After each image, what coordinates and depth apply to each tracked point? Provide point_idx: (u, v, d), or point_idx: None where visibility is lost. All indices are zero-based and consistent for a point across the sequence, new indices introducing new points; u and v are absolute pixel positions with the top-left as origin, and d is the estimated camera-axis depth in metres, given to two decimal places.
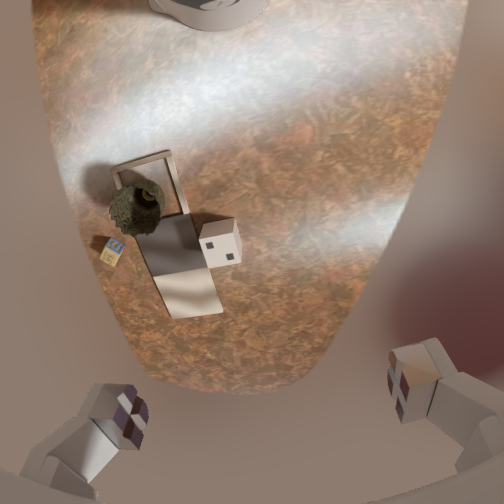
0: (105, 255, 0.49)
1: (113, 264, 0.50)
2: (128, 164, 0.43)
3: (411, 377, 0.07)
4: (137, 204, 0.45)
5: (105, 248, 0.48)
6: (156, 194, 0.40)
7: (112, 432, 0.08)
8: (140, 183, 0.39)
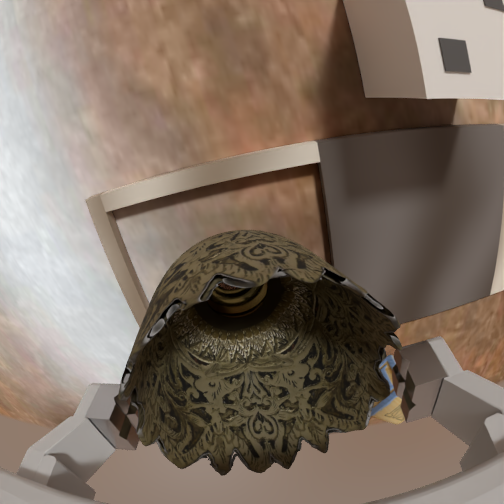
0: (396, 414, 0.16)
1: None
2: (141, 323, 0.15)
3: (417, 375, 0.07)
4: (266, 325, 0.13)
5: (377, 415, 0.16)
6: (179, 286, 0.07)
7: (109, 432, 0.08)
8: None
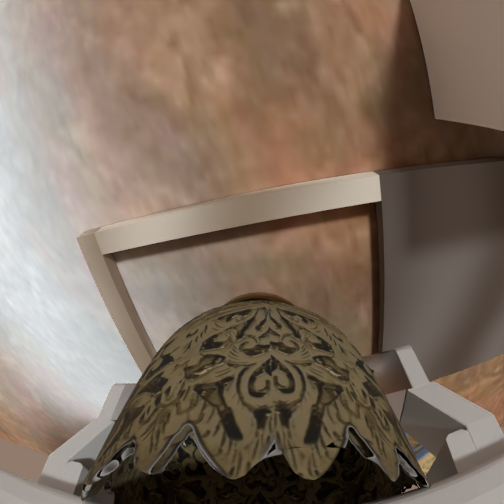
0: (427, 465, 0.13)
1: None
2: None
3: None
4: None
5: None
6: (147, 413, 0.05)
7: None
8: None
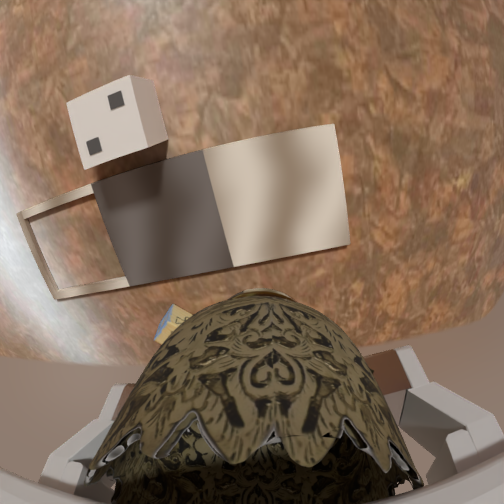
0: None
1: None
2: (42, 273, 0.28)
3: (379, 386, 0.07)
4: None
5: (158, 341, 0.28)
6: (153, 401, 0.05)
7: None
8: None
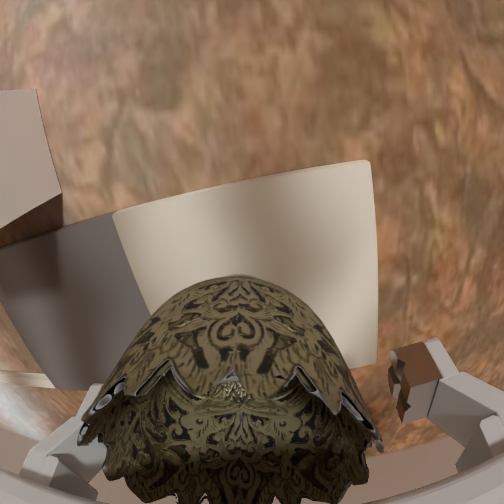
0: None
1: None
2: None
3: (412, 377, 0.07)
4: None
5: None
6: (136, 357, 0.06)
7: None
8: None
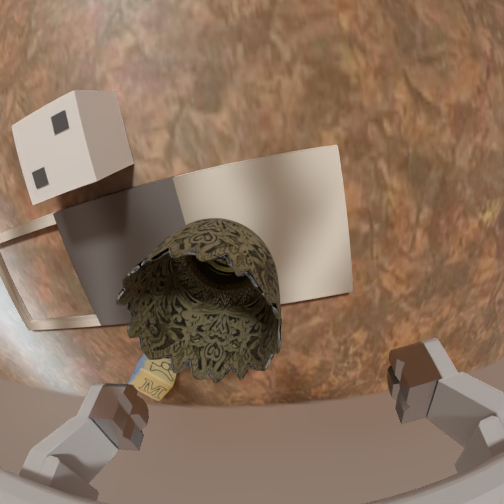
0: (148, 391, 0.24)
1: (166, 385, 0.23)
2: (14, 303, 0.24)
3: (411, 377, 0.07)
4: (243, 284, 0.19)
5: None
6: (154, 250, 0.13)
7: (112, 432, 0.08)
8: None
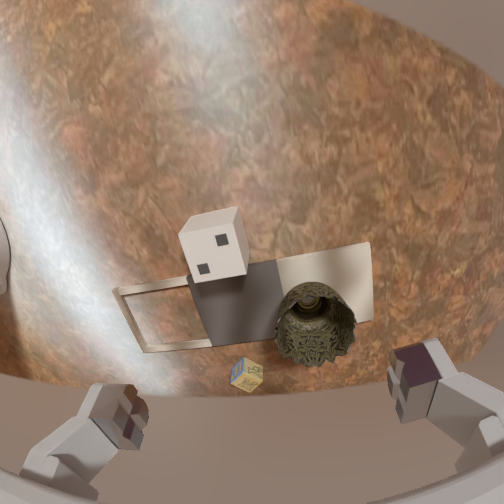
0: (244, 386, 0.38)
1: (258, 381, 0.38)
2: (134, 334, 0.39)
3: (411, 377, 0.07)
4: (319, 318, 0.33)
5: (233, 384, 0.38)
6: (296, 296, 0.27)
7: (112, 432, 0.08)
8: (277, 316, 0.28)
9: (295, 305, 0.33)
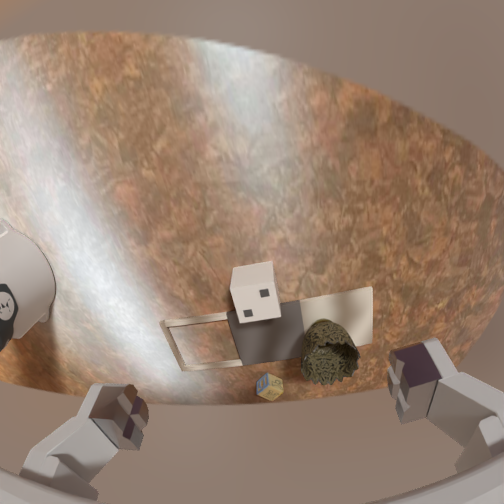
0: (268, 396, 0.47)
1: (280, 392, 0.46)
2: (176, 357, 0.47)
3: (411, 377, 0.07)
4: (330, 344, 0.42)
5: (259, 395, 0.47)
6: (318, 340, 0.36)
7: (112, 432, 0.08)
8: (303, 352, 0.37)
9: None
